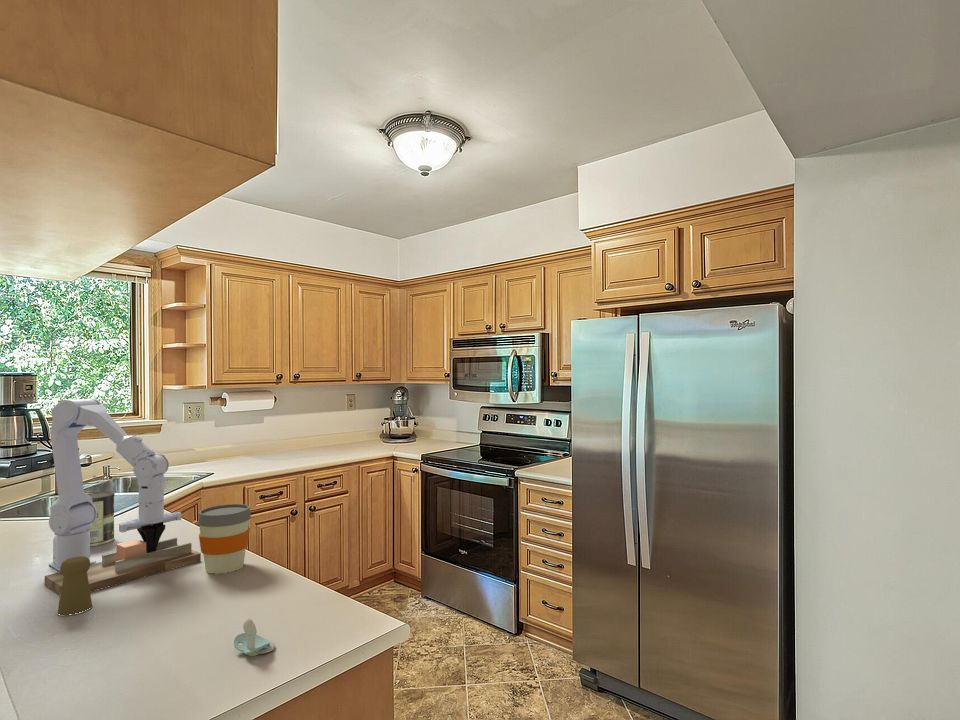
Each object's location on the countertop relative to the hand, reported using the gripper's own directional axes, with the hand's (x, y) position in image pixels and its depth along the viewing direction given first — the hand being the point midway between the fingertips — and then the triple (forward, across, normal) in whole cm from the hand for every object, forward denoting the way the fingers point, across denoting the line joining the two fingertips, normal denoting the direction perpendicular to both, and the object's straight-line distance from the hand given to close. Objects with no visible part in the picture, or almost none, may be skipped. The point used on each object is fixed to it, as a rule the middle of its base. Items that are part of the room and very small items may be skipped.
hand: (151, 553), depth 144 cm
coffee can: (+3, -1, +37) cm, 37 cm away
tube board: (+3, -6, 0) cm, 7 cm away
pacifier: (+3, -9, -64) cm, 65 cm away
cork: (+3, -22, -16) cm, 27 cm away
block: (+1, -5, 0) cm, 5 cm away
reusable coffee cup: (+3, +10, -18) cm, 21 cm away
